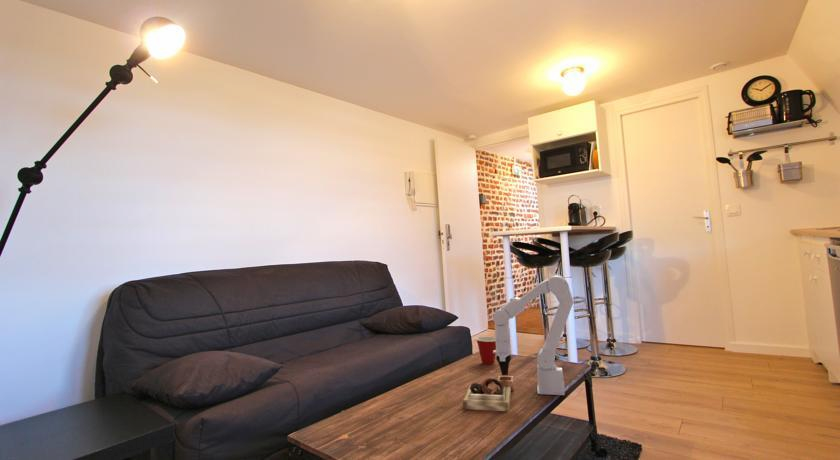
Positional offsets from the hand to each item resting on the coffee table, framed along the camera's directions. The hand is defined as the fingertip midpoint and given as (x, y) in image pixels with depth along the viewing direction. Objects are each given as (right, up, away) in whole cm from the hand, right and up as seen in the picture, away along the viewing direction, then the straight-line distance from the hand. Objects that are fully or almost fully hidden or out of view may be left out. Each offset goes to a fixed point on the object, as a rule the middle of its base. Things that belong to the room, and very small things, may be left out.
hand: (504, 374), depth 154 cm
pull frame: (-6, -5, -7) cm, 11 cm away
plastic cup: (0, -7, +34) cm, 34 cm away
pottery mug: (-9, -5, -11) cm, 15 cm away
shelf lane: (-9, -5, -12) cm, 16 cm away
